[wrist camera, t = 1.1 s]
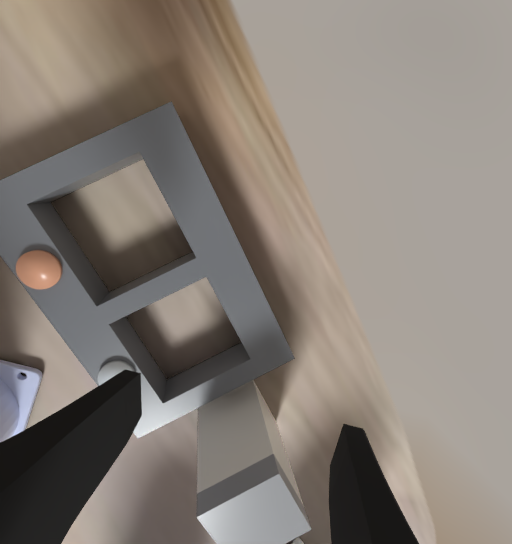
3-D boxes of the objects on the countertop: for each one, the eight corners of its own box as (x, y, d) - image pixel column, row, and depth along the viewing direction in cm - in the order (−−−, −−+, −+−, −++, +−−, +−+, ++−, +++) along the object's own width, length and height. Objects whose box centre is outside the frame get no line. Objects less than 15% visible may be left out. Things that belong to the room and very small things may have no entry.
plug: (197, 405, 22) (196, 517, 15) (252, 378, 23) (279, 473, 15) (224, 447, 24) (236, 570, 16) (276, 421, 24) (311, 529, 16)
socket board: (-8, 198, 17) (-47, 199, 14) (175, 113, 17) (171, 99, 15) (144, 411, 22) (136, 442, 19) (284, 340, 22) (296, 360, 20)
